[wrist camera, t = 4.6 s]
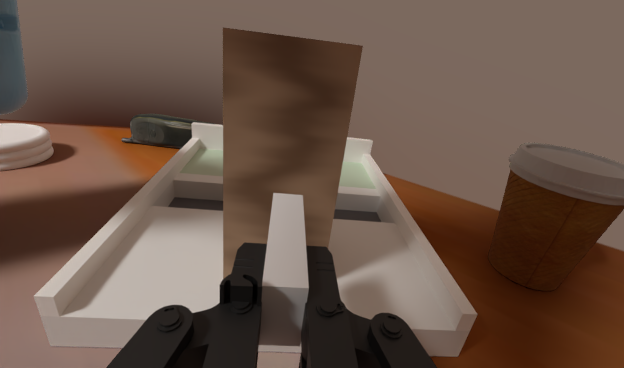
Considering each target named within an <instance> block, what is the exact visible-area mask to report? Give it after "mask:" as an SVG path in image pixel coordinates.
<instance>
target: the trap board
mask: <svg viewBox="0 0 624 368" xmlns="http://www.w3.org/2000/svg"><path fill="white" fill-rule="evenodd" d="M191 126H192V138H191V139H190V140H189V141H188V142H187V143H186V144H185V145H184V146H183V147H182V148H181V149H180V150H179V151H178V152H177V153H176V154H175V155H174V156H173V157H172V158H171V159H170V160H169V161H168V162H167V163H166V164H165V165H164V166H163V167H162V168H161V169H160V170H159V171H158V172H157V173H156V174H155V175H154V176H153V177H152V178H151V179H150V180H149V181H148V182H147V183H146V184H145V185H144V186H143V187H142V188H141V189H140V190H139V191H138V192H137V193H136V194H135V195H134V196H133V197H132V198H131V199H130V200H129V201H128V202H127V203H126V204H125V205H124V206H123V207H122V208H121V209H120V210H119V211H118V212H117V213H116V214H115V215H114V216H113V217H112V218H111V219H110V220H109V221H108V222H107V223H106V224H105V225H104V226H103V227H102V228H101V229H100V230H99V231H98V232H97V233H96V234H95V235H94V236H93V237H92V238H91V239H90V240H89V241H88V242H87V243H86V244H85V245H84V246H83V247H82V248H81V249H80V250H79V251H78V252H77V253H76V254H75V255H74V256H73V257H72V258H71V259H70V260H69V261H68V262H67V263H66V264H65V265H64V266H63V267H62V268H61V269H60V270H59V271H58V272H57V273H56V274H55V275H54V276H53V277H52V278H51V279H50V280H49V281H48V282H47V283H46V284H45V285H44V286H43V287H42V288H41V289H40V290H39V291H38V292H37V293H36V294H35V295H34V298H35V301H36V304H37V307H38V310H39V313H40V316H41V319H42V322H43V325H44V328H45V331H46V334H47V337H48V340H49V343H50V346H64V347H102V348H123V347H124V346H125V345H126V344H127V342H128V341H129V340H130V339H131V338H132V336H133V335H134V334H135V333H136V332H137V330H138V329H139V328H140V327H141V326H142V325H143V323H144V322H145V321H146V320H147V319H148V317H149V316H150V315H152V314H153V313H154V312H155V311H156V310H158V309H160V308H162V307H164V306H169V305H183V306H185V307H187V308H189V310H190V311H191V312H192V313H195V312H199V311H204V310H207V309H210V308H212V307H214V306H216V305H217V304H219V303H220V283H221V282H222V280H223V125H217V124H207V123H197V122H193V123H192V124H191ZM372 143H373V142H372V140H368V139H358V138H348V137H347V141H346V147H345V153H344V159H343V164H342V170H341V176H340V182H339V188H338V194H337V200H336V205H335V211H334V217H333V223H332V229H331V235H330V241H329V247H328V250H329V251H330V252H331V254H332V256H333V261H334V267H335V272H336V278H337V283H338V289H339V294H340V299H341V301H342V302H343V303H344V304H345V306H346V308H347V309H348V310H349V311H351V312H352V313H354V314H356V315H358V316H361V317H364V318H367V319H372V318H373V317H374V316H375V315H376V314H379V313H391V314H394V315H397V316H398V317H400V318H401V319H403V320H404V321H405V322H406V323H407V324H408V325H409V327H410V328H411V330H412V331H413V333H414V334H415V336H416V337H417V339H418V340H419V342H420V343H421V345H422V346H423V347H424V349H425V350H426V352H427V353H428V355H429V356H449V357H458V356H459V353H460V351H461V349H462V347H463V345H464V343H465V341H466V338H467V336H468V334H469V332H470V330H471V328H472V326H473V323H474V321H475V319H476V317H477V315H478V314H477V313H476V311H475V310H474V308H473V307H472V305H471V304H470V302H469V301H468V299H467V298H466V296H465V295H464V293H463V292H462V290H461V289H460V287H459V286H458V284H457V283H456V281H455V280H454V279H453V277H452V276H451V274H450V273H449V271H448V270H447V268H446V267H445V265H444V264H443V262H442V261H441V259H440V258H439V256H438V255H437V253H436V252H435V250H434V249H433V247H432V246H431V244H430V243H429V241H428V240H427V238H426V237H425V235H424V234H423V232H422V231H421V229H420V228H419V226H418V225H417V224H416V222H415V221H414V219H413V218H412V216H411V215H410V213H409V212H408V210H407V209H406V207H405V206H404V204H403V203H402V201H401V200H400V198H399V197H398V195H397V194H396V192H395V191H394V189H393V188H392V186H391V185H390V183H389V182H388V180H387V179H386V177H385V176H384V174H383V173H382V172H381V170H380V169H379V167H378V166H377V164H376V163H375V161H374V160H373V158H372V157H371V155H370V152H371V147H372ZM258 352H295V353H301V344H300V346H273V345H259V347H258Z"/></svg>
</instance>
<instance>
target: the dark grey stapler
mask: <svg viewBox="0 0 624 368" xmlns="http://www.w3.org/2000/svg"><path fill="white" fill-rule="evenodd" d="M193 122H197V123H207V124H214V123H208V122H202V121H196V120H190V119H184V118H177V117H172V116H166V115H160V114H139V115H136V116H134V117H133V118H132V119H131V122H130V128H131V133H132V137H131V138H122V142H128V143H138V144H146V145H153V146H160V147H169V148H176V149H181V148H182V147H183V146H184V145H185V144H186V143H187V142H188V141H189V140H190V139H191V138H192V126H191V124H192V123H193Z"/></svg>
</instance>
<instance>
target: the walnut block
mask: <svg viewBox="0 0 624 368" xmlns="http://www.w3.org/2000/svg"><path fill="white" fill-rule="evenodd" d="M362 47H363V46H359V45H352V44H344V43H336V42H329V41H322V40H314V39H306V38H299V37H291V36H283V35H276V34H268V33H261V32H252V31H245V30H237V29H230V28H223V279H224V278H225V277H226V276H228V275H230V274H231V272H232V269H233V265H234V261H235V257H236V253H237V250H238V248H239V247H240V246H241V245H242V244H243V243H244V242H246V243H262V244H267V241H268V233H269V225H270V217H271V208H272V200H273V193H283V194H295V195H303V206H304V221H305V237H306V246H322V247H327V248H328V247H329V241H330V235H331V229H332V223H333V217H334V211H335V205H336V200H337V194H338V188H339V182H340V176H341V170H342V164H343V159H344V153H345V147H346V141H347V135H348V129H349V123H350V117H351V112H352V106H353V100H354V94H355V88H356V81H357V76H358V70H359V65H360V59H361V53H362Z"/></svg>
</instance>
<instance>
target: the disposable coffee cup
mask: <svg viewBox="0 0 624 368" xmlns="http://www.w3.org/2000/svg"><path fill="white" fill-rule="evenodd" d="M509 162H510V166H509V167H510V174H509V178H508V182H507V186H506V189H505V193H504V197H503V201H502V205H501V209H500V212H499V217H498V220H497V224H496V228H495V232H494V236H493V240H492V244H491V247H490V251H489V255H488V259H489V261H490V263H491V264H492V266H493V267H494V268H495V269H496V270H497V271H498V272H500V273H501V274H502V275H504V276H505V277H507V278H508V279H510V280H512V281H514V282H516V283H518V284H520V285H522V286H525V287H528V288H531V289H535V290H541V291H551V290H555V289H556V288H558V286H559V285H560V284H561V282H562V281H563V280H564V279H565V278H566V277H567V275H568V274H569V273H570V272H571V271H572V269H573V268H574V267H575V266H576V265H577V264H578V263H579V261H580V260H581V259H582V258H583V257H584V255H585V254H586V253H587V252H588V251H589V249H590V248H591V247H592V246H593V245H594V244H595V243H596V241H597V240H598V239H599V238H600V237H601V236H602V234H603V233H604V232H605V231H606V230H607V228H608V227H609V226H610V225H611V224H612V222H613V221H614V220H615V219H616V218H617V216H618V215H619V214H620V213H621V212H622V211H623V209H624V164H622V163H619V162H616V161H614V160H611V159H608V158H605V157H602V156H598V155H594V154H591V153H587V152H584V151H580V150H576V149H571V148H566V147H560V146H555V145H549V144H541V143H524V144H522V145H520V147H519V148H518V150H517V151H516V153H515V154H512V155H510V157H509Z"/></svg>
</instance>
